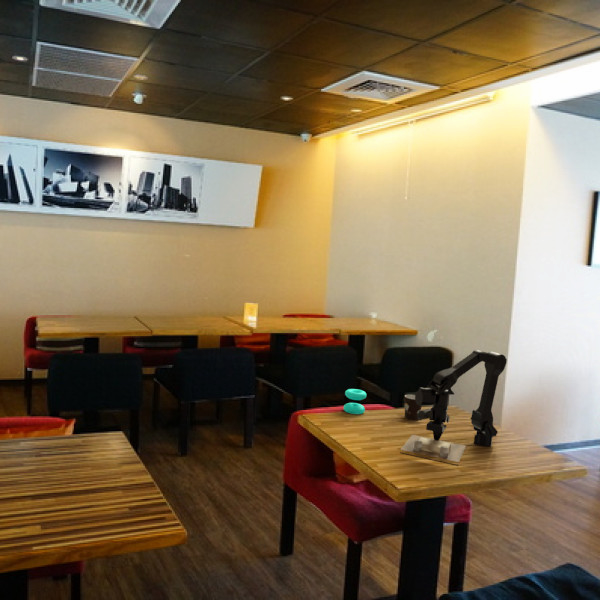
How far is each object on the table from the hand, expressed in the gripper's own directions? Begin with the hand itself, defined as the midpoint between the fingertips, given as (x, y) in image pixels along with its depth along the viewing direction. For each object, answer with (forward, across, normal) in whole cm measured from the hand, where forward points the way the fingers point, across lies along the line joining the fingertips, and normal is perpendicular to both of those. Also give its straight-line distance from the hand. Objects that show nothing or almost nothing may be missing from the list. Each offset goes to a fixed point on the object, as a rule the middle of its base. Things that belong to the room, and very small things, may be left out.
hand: (435, 443), depth 247 cm
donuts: (+3, -30, -43) cm, 53 cm away
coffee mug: (+3, -40, -18) cm, 44 cm away
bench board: (+2, +3, 0) cm, 4 cm away
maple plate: (+1, +5, 0) cm, 5 cm away
